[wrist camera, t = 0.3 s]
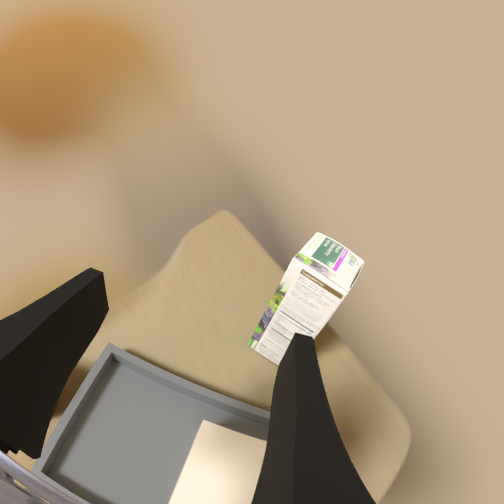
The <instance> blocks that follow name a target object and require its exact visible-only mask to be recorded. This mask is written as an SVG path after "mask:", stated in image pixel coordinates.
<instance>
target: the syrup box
mask: <svg viewBox="0 0 504 504" xmlns="http://www.w3.org/2000/svg"><path fill="white" fill-rule="evenodd" d="M363 265H364V261H363V260H362V259H361V258H359V257H358V256H357V255H355V254H354V253H353V252H352V251H350V250H349V249H347V248H346V247H344V246H343V245H341V244H340V243H338V242H337V241H335V240H333V239H331V238H329V237H327V236H325V235H323V234H321V233H319V232H317V233H316V234H315V235H314V236H313V237H312V238H311V239H310V240H309V242H308V243H307V244H306V245H305V246H304V247H303V248H302V249H301V250H300V252H299V253H298V254H297V255H296V256H295V257H294V258H293V259H292V261H291V263H290V265H289V267H288V269H287V271H286V273H285V275H284V277H283V278H282V280H281V282H280V284H279V286H278V288H277V290H276V292H275V294H274V296H273V298H272V299H271V301H270V303H269V305H268V307H267V309H266V311H265V313H264V315H263V317H262V318H261V320H260V322H259V324H258V326H257V328H256V330H255V332H254V334H253V335H252V337H251V339H250V341H249V343H248V346H249V347H251V348H252V349H254V350H255V351H257V352H258V353H260V354H261V355H263V356H264V357H266V358H267V359H269V360H270V361H272V362H273V363H275V364H277V365H278V366H279V364H280V362H281V360H282V358H283V356H284V354H285V352H286V350H287V348H288V346H289V344H290V342H291V340H292V338H293V336H294V334H295V332H296V333H299V334H303V335H307V336H311V337H313V339H315V338H316V336H317V335H318V334H319V333H320V331H321V330H322V329H323V328H324V326H325V325H326V324H327V322H328V321H329V320H330V318H331V317H332V316H333V314H334V313H335V312H336V310H337V309H338V307H339V306H340V304H341V303H342V302H343V300H344V299H345V298H346V296H347V295H348V293H349V292H350V290H351V288H352V286H353V285H354V283H355V281H356V280H357V277H358V276H359V274H360V271H361V269H362V267H363Z"/></svg>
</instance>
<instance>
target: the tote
mask: <svg viewBox="0 0 504 504" xmlns="http://www.w3.org/2000/svg"><path fill="white" fill-rule="evenodd" d="M270 413H271V412H270V411H267V410H264V409H261V408H258V407H255V406H252V405H249V404H246V403H244V402H241V401H238V400H235V399H233V398H230V397H227V396H225V395H222V394H219V393H217V392H214V391H212V390H209V389H207V388H204V387H202V386H199V385H197V384H195V383H192V382H190V381H188V380H185V379H183V378H181V377H178V376H176V375H174V374H172V373H169V372H167V371H165V370H163V369H161V368H159V367H157V366H154V365H152V364H150V363H148V362H146V361H144V360H142V359H140V358H138V357H136V356H134V355H132V354H130V353H128V352H126V351H124V350H122V349H120V348H119V347H117V346H115V345H113V344H111V343H108V344H107V346H106V347H105V349H104V350H103V352H102V353H101V355H100V356H99V358H98V359H97V361H96V363H95V364H94V366H93V367H92V369H91V370H90V372H89V373H88V375H87V376H86V378H85V380H84V381H83V383H82V384H81V386H80V387H79V389H78V391H77V392H76V394H75V395H74V397H73V399H72V400H71V402H70V404H69V405H68V407H67V409H66V410H65V412H64V414H63V415H62V417H61V419H60V420H59V422H58V424H57V425H56V427H55V429H54V430H53V432H52V434H51V436H50V437H49V439H48V441H47V443H46V444H45V446H44V448H43V450H42V452H41V457H40V458H38V459H37V461H36V462H35V464H34V466H33V468H32V470H31V473H33V474H34V475H36V476H37V477H39V478H40V479H42V480H43V481H45V482H47V483H48V484H50V485H51V486H53V487H55V488H56V489H58V490H60V491H61V492H63V493H65V494H67V495H68V496H70V497H72V498H74V499H76V500H78V501H79V502H81V503H83V504H168V502H169V500H170V497H171V495H172V492H173V490H174V488H175V485H176V483H177V480H178V478H179V476H180V473H181V471H182V468H183V466H184V464H185V461H186V459H187V456H188V454H189V451H190V449H191V447H192V444H193V442H194V439H195V437H196V434H197V432H198V430H199V428H200V426H201V424H202V422H203V420H206V421H209V422H211V423H214V424H216V425H219V426H222V427H225V428H227V429H230V430H233V431H236V432H239V433H242V434H245V435H248V436H251V437H254V438H257V439H260V440H264V441H267V437H268V429H269V421H270Z"/></svg>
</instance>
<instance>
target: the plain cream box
mask: <svg viewBox="0 0 504 504" xmlns="http://www.w3.org/2000/svg"><path fill="white" fill-rule="evenodd" d="M266 444H267V441H264V440H260V439H257V438H254V437H251V436H248V435H245V434H242V433H239V432H236V431H233V430H230V429H227V428H225V427H222V426H219V425H216V424H214V423H211V422H209V421H206V420H203V422H202V424H201V426H200V428H199V430H198V432H197V434H196V437H195V439H194V442H193V444H192V447H191V449H190V451H189V454H188V456H187V459H186V461H185V464H184V466H183V468H182V471H181V473H180V476H179V478H178V480H177V483H176V485H175V488H174V490H173V492H172V495H171V497H170V500H169V502H168V504H251V503H252V499H253V496H254V493H255V489H256V486H257V482H258V478H259V475H260V471H261V467H262V463H263V459H264V455H265V450H266Z"/></svg>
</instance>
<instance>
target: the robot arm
mask: <svg viewBox="0 0 504 504" xmlns="http://www.w3.org/2000/svg"><path fill="white" fill-rule="evenodd" d="M108 310H109V307H108V301H107V295H106V289H105V282H104V276H103V272H101V271H98V270H95V269H93V268H89V269H87V270H85V271H84V272H82V273H80V274H79V275H77V276H75V277H74V278H73V279H71V280H69V281H68V282H66V283H64V284H63V285H62V286H60V287H58V288H56V289H55V290H53V291H52V292H50V293H48V294H47V295H45V296H44V297H42V298H40V299H39V300H37V301H35V302H34V303H32V304H30V305H28V306H27V307H25V308H23V309H21V310H20V311H18V312H16V313H14V314H12V315H10V316H8V317H6V318H4V319H2V320H0V504H47V503H46V502H45V501H43V500H42V499H41V498H40V497H42V498H43V499H45V500H46V501H48V502H49V503H51V504H83V503H81V502H79V501H78V500H76V499H74V498H72V497H70V496H68V495H67V494H65V493H63V492H61V491H60V490H58V489H56V488H55V487H53V486H51V485H50V484H48V483H47V482H45V481H43V480H42V479H40V478H39V477H37V476H36V475H34V474H33V473H31V472H30V471H28V470H27V469H26V468H24V467H23V466H21V465H20V464H19V463H17V462H16V461H14V460H13V459H12V458H10V457H9V456H8V455H7V453H8V451H9V450H11V451H12V452H13V453H15V454H17V453H18V451H19V450H21V451H22V452H24V453H25V454H26V455H28V456H29V457H31V458H32V459H37V458H40V457H41V452H42V448H43V444H44V440H45V436H46V433H47V430H48V426H49V423H50V420H51V417H52V415H53V412H54V409H55V407H56V404H57V402H58V399H59V397H60V395H61V392H62V390H63V388H64V386H65V384H66V381H67V380H68V378H69V376H70V374H71V372H72V371H73V369H74V368H75V366H76V365H77V363H78V361H79V360H80V358H81V357H82V355H83V354H84V352H85V351H86V349H87V348H88V346H89V344H90V343H91V341H92V340H93V338H94V337H95V335H96V334H97V332H98V330H99V328H100V327H101V325H102V323H103V321H104V319H105V316H106V314H107V312H108ZM13 478H14V479H15V480H17V481H18V482H20V483H21V484H22V485H24V486H25V487H27V488H28V489H30V490H31V491H32V492H34V493H35V494H37V495H38V496H40V497H38V496H37V495H35V494H34V493H32V492H31V491H29V490H27V489H25V488H23V487H22V486H20V485H18V484H16V483H14V479H13ZM251 504H376V503H375V502H374V500H373V499H372V497H371V495H370V494H369V492H368V491H367V489H366V487H365V486H364V484H363V482H362V480H361V478H360V477H359V475H358V473H357V471H356V469H355V467H354V465H353V463H352V462H351V460H350V457H349V455H348V453H347V451H346V449H345V446H344V444H343V442H342V439H341V437H340V434H339V432H338V429H337V427H336V424H335V421H334V418H333V415H332V412H331V409H330V406H329V403H328V400H327V396H326V392H325V389H324V385H323V381H322V377H321V373H320V369H319V365H318V360H317V355H316V350H315V344H314V339H313V337H311V336H307V335H303V334H299V333H296V332H295V334H294V336H293V338H292V340H291V342H290V344H289V346H288V348H287V350H286V352H285V354H284V356H283V358H282V360H281V362H280V364H279V367H278V371H277V376H276V380H275V384H274V389H273V396H272V405H271V413H270V421H269V429H268V437H267V444H266V450H265V455H264V459H263V463H262V467H261V471H260V475H259V478H258V482H257V486H256V489H255V493H254V496H253V499H252V503H251Z"/></svg>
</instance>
